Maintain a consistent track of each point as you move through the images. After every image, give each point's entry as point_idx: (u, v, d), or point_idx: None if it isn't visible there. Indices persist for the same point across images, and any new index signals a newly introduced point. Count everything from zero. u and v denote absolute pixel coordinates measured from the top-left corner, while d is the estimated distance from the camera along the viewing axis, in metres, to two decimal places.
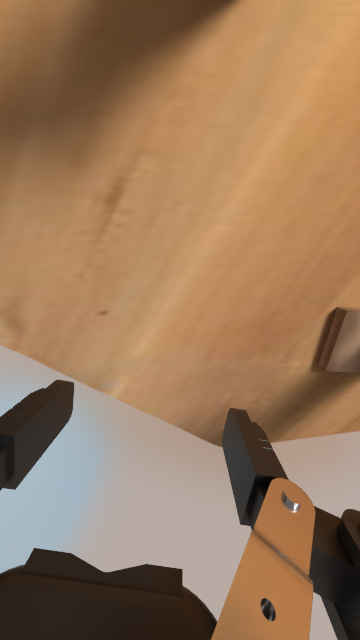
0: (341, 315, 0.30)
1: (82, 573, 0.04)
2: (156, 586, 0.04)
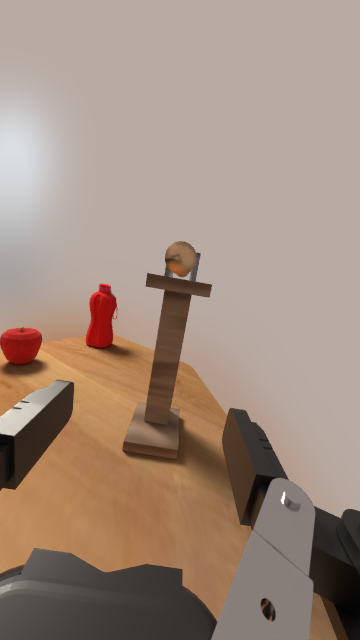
0: (128, 445, 0.37)
1: (82, 573, 0.04)
2: (156, 586, 0.04)
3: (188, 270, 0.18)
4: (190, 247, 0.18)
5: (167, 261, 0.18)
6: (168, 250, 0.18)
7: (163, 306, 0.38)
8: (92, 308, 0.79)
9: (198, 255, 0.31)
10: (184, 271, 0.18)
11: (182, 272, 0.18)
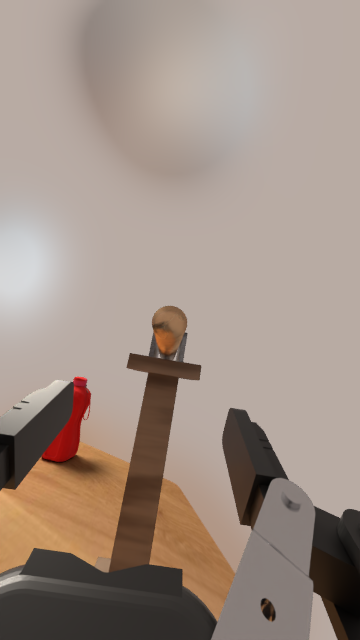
0: None
1: (83, 573, 0.04)
2: (156, 585, 0.04)
3: (178, 335, 0.16)
4: (180, 311, 0.17)
5: (154, 325, 0.16)
6: (156, 314, 0.16)
7: (145, 394, 0.33)
8: None
9: (185, 334, 0.29)
10: (173, 336, 0.16)
11: (171, 337, 0.16)
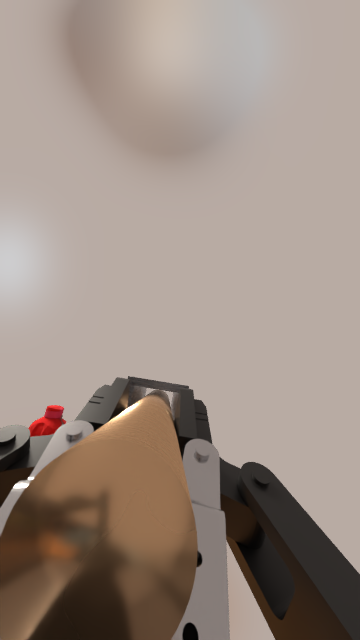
0: None
1: None
2: None
3: None
4: (160, 474, 0.03)
5: (6, 584, 0.03)
6: (27, 500, 0.03)
7: None
8: None
9: None
10: None
11: None
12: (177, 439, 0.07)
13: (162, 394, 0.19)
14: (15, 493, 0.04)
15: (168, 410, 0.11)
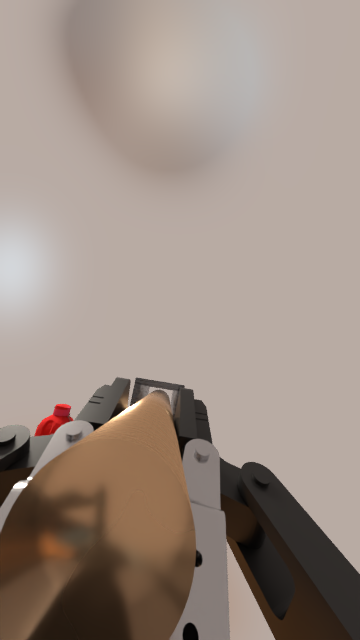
0: None
1: None
2: None
3: None
4: (158, 474, 0.03)
5: (5, 583, 0.03)
6: (26, 499, 0.03)
7: None
8: None
9: None
10: None
11: None
12: None
13: (162, 394, 0.19)
14: (15, 493, 0.04)
15: (168, 410, 0.11)
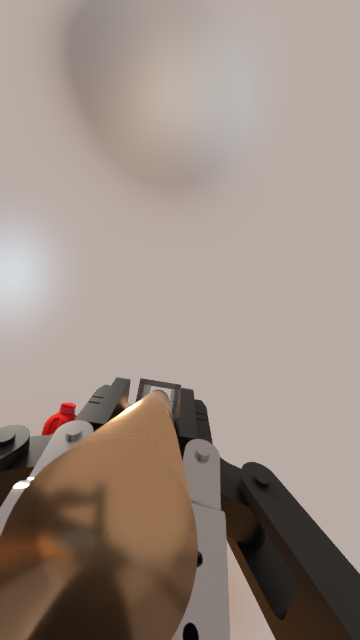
0: None
1: None
2: None
3: None
4: (160, 474, 0.03)
5: (7, 584, 0.03)
6: (27, 500, 0.03)
7: None
8: None
9: (178, 387, 0.24)
10: None
11: None
12: (177, 439, 0.07)
13: (162, 394, 0.19)
14: (14, 493, 0.04)
15: (168, 410, 0.11)
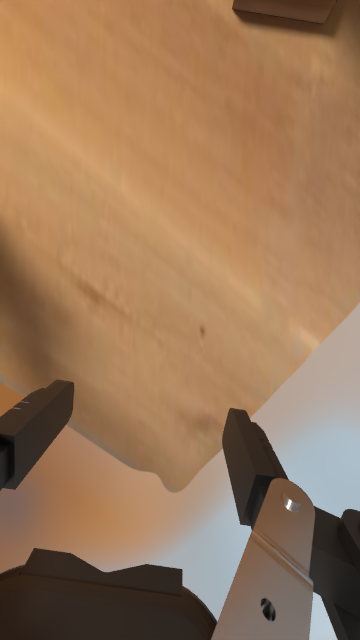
0: None
1: (83, 573, 0.04)
2: (155, 586, 0.04)
3: None
4: None
5: None
6: None
7: None
8: None
9: None
10: None
11: None
12: None
13: None
14: None
15: None
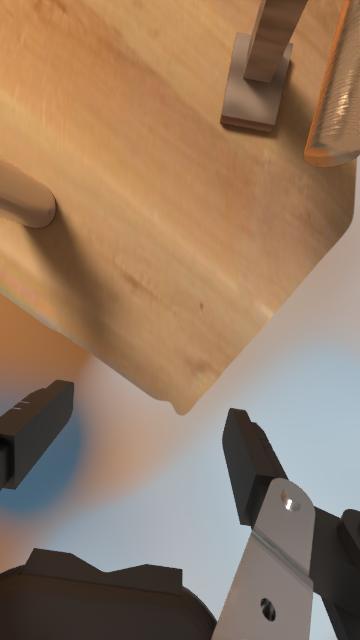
0: (225, 118, 0.39)
1: (83, 572, 0.04)
2: (156, 586, 0.04)
3: (334, 165, 0.12)
4: (357, 145, 0.11)
5: (306, 154, 0.12)
6: (315, 145, 0.11)
7: None
8: None
9: None
10: (327, 165, 0.13)
11: (323, 165, 0.13)
12: None
13: None
14: None
15: None
